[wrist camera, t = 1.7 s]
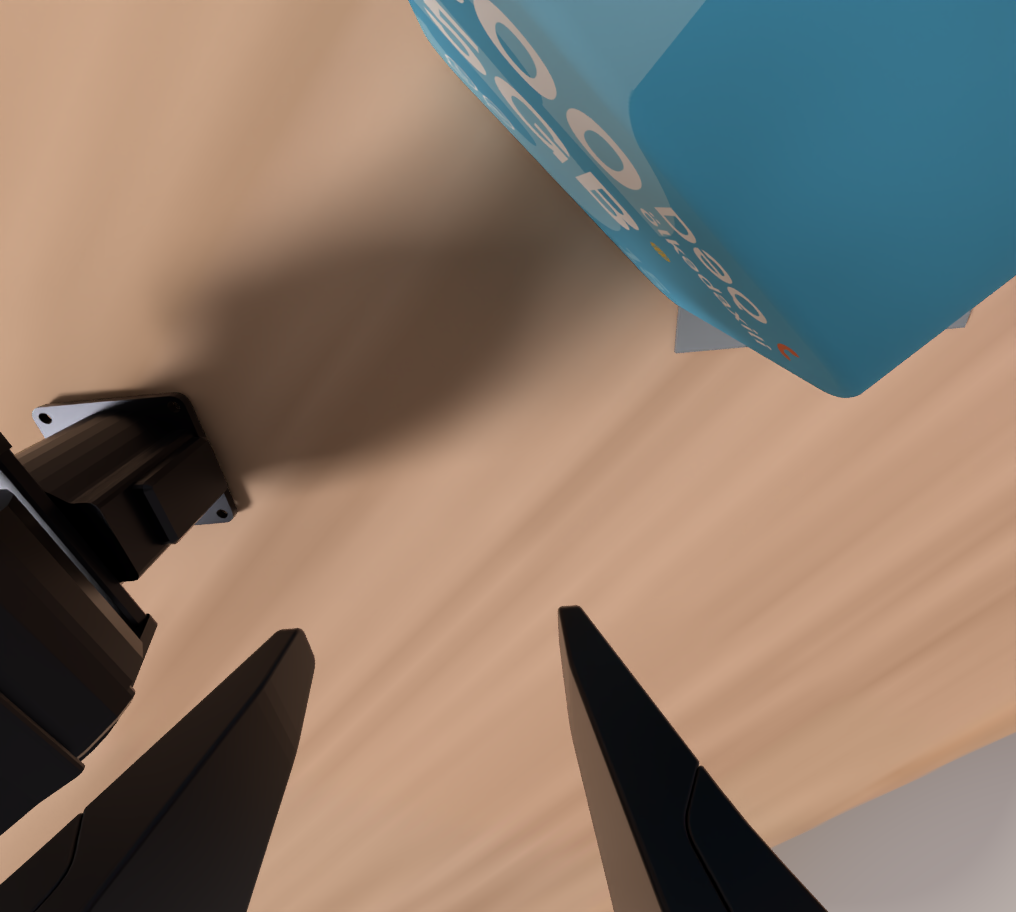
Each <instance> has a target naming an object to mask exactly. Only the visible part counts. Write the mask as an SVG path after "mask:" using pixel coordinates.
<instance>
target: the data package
mask: <svg viewBox="0 0 1016 912" xmlns="http://www.w3.org/2000/svg"><path fill="white" fill-rule="evenodd" d="M408 1H409V3H410V5H411V7H412V9H413V11H414V13H415V15H416V17H417V20H418V22H419V24H420V26H421V28H422V30H423V32H424V34H425V36H426V37H427V39H428V40H429V42H430V43H431V45H432V46H433V47H434V49H435V50H436V51H437V52H438V54H439V55H440V56H441V57H442V59H443V60H444V61H445V62H446V63H447V64H448V66H449V67H450V68H451V69H452V70H453V71H454V73H455V74H456V75H457V76H458V77H459V78H460V79H461V80H462V81H463V83H464V84H465V85H466V86H467V87H468V88H469V89H470V90H471V91H472V92H473V93H474V94H475V95H476V96H477V97H478V98H479V100H480V101H481V102H482V103H483V104H484V105H485V106H486V107H487V108H488V109H489V110H490V111H491V112H492V113H493V114H494V116H495V117H496V118H497V119H498V120H499V121H500V122H501V123H502V124H503V125H504V126H505V127H506V128H507V129H508V130H509V131H510V133H511V134H512V135H513V136H514V137H515V138H516V139H517V140H518V141H519V142H520V143H521V144H522V145H523V146H524V147H525V148H526V150H527V151H528V152H529V153H530V154H531V155H532V156H533V157H534V158H535V159H536V160H537V161H538V162H539V163H540V164H541V165H542V167H543V168H544V169H545V170H546V171H547V172H548V173H549V174H550V175H551V176H552V177H553V178H554V179H555V180H556V181H557V182H558V184H559V185H560V186H561V187H562V188H563V189H564V190H565V191H566V192H567V193H568V194H569V195H570V196H571V197H572V198H573V199H574V201H575V202H576V203H577V204H578V205H579V206H580V207H581V208H582V209H583V210H584V211H585V212H586V213H587V214H588V215H589V216H590V218H591V219H592V220H593V221H594V222H595V223H596V224H597V225H598V226H599V227H600V228H601V229H602V230H603V231H604V232H605V233H606V235H607V236H608V237H609V238H610V239H611V240H612V241H613V242H614V243H615V244H616V245H617V246H618V247H619V248H620V249H621V250H622V252H623V253H624V254H625V255H626V256H627V257H628V258H629V259H630V260H631V261H632V262H633V263H634V264H635V265H636V266H637V268H638V269H639V270H640V271H641V272H642V273H643V274H644V275H645V276H646V277H647V278H648V279H649V280H650V281H651V282H652V283H653V284H654V285H655V286H656V287H657V288H658V289H659V290H660V291H661V292H662V293H663V294H665V295H666V296H667V297H668V298H669V299H670V300H672V301H673V302H674V303H675V304H677V305H678V306H680V307H681V308H683V309H685V310H687V311H688V312H690V313H692V314H693V315H695V316H697V317H698V318H700V319H702V320H703V321H705V322H707V323H709V324H710V325H712V326H714V327H715V328H717V329H719V330H720V331H722V332H724V333H726V334H727V335H729V336H731V337H732V338H734V339H736V340H737V341H739V342H741V343H742V344H744V345H746V346H748V347H749V348H751V349H753V350H754V351H756V352H758V353H759V354H761V355H763V356H764V357H766V358H768V359H770V360H771V361H773V362H775V363H776V364H778V365H780V366H781V367H783V368H785V369H787V370H788V371H790V372H792V373H793V374H795V375H797V376H798V377H800V378H802V379H803V380H805V381H807V382H809V383H810V384H812V385H814V386H815V387H817V388H819V389H821V390H822V391H824V392H826V393H828V394H831V395H833V396H836V397H841V398H850V397H855V396H858V395H860V394H861V393H863V392H864V391H865V390H867V389H868V388H869V387H871V386H872V385H873V384H875V383H876V382H877V381H879V380H880V379H881V378H882V377H884V376H885V375H886V374H888V373H889V372H890V371H892V370H893V369H894V368H895V367H897V366H898V365H899V364H901V363H902V362H903V361H905V360H906V359H907V358H909V357H910V356H911V355H912V354H914V353H915V352H916V351H918V350H919V349H920V348H922V347H923V346H924V345H925V344H927V343H928V342H929V341H931V340H932V339H933V338H935V337H936V336H937V335H939V334H940V333H941V332H942V331H944V330H945V329H946V328H948V327H949V326H950V325H952V324H953V323H954V322H955V321H957V320H958V319H959V318H961V317H962V316H963V315H965V314H966V313H967V312H969V311H970V310H971V309H972V308H974V307H975V306H976V305H978V304H979V303H980V302H982V301H983V300H984V299H985V298H987V297H988V296H989V295H991V294H992V293H993V292H995V291H996V290H997V289H999V288H1000V287H1001V286H1002V285H1004V284H1005V283H1006V282H1008V281H1009V280H1010V279H1012V278H1013V277H1014V276H1015V275H1016V0H408Z"/></svg>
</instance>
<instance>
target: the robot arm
mask: <svg viewBox="0 0 1016 912" xmlns="http://www.w3.org/2000/svg"><path fill="white" fill-rule="evenodd" d="M173 402H176V403H177V404H178V405H179V406H180V409H178V408H177V407H175V406H174V404H173ZM47 415H49V416H50V417H51V419H50V418H49V417H48V416H47ZM32 417H33V419H34V421H35V423H36V424H37V426H38V427H39V429H40V431H41V432H42V434H43V436H44V437H45V439H43V440H42V441H40V442H38V443H36V444H34V445H32V446H30V447H28V448H26V449H24V450H22V451H21V452H19V453H17V454H15V455H14V454H13V453H12V452H11V450H10V448H11V447H12V446H11V444H10V443H9V442H8V441H7V439H6V438H5V437H4V436H3V435H2V433H1V432H0V835H2V834H3V833H4V832H5V831H6V830H8V829H9V828H10V827H11V826H12V825H14V824H15V823H16V822H17V821H18V820H19V819H21V818H22V817H23V816H24V815H25V814H27V813H28V812H29V811H30V810H31V809H33V808H34V807H35V806H36V805H37V804H39V803H40V802H41V801H43V800H44V799H46V798H47V797H49V796H50V795H52V794H53V793H54V792H56V791H57V790H59V789H60V788H62V787H63V786H65V785H66V784H67V783H69V782H70V781H72V780H73V779H75V778H76V777H77V776H79V775H80V774H81V773H82V771H83V770H84V768H85V765H84V764H83V763H82V762H81V761H82V760H83V759H84V758H85V757H86V756H87V755H89V754H90V753H91V752H92V751H93V750H94V749H95V748H96V747H97V746H98V745H99V744H100V743H101V741H102V740H103V739H104V738H105V737H106V736H107V735H108V734H109V732H110V731H111V729H112V728H113V727H114V725H115V724H116V723H117V721H118V719H119V718H120V716H121V715H122V714H123V712H124V711H125V710H126V708H127V707H128V706H129V705H130V703H131V701H132V699H133V697H134V695H135V690H134V689H133V685H134V683H135V680H136V678H137V675H138V673H139V670H140V668H141V665H142V663H143V660H144V658H145V655H146V653H147V650H148V648H149V645H150V643H151V640H152V638H153V635H154V633H155V630H156V628H157V623H156V621H155V620H154V619H153V618H152V616H151V615H150V614H145V613H144V612H143V610H142V609H141V608H140V607H139V606H138V604H137V603H136V602H135V601H134V599H133V598H132V597H131V596H130V595H129V593H128V592H127V591H126V590H125V589H124V587H123V586H122V584H123V583H124V582H126V581H135V580H138V579H139V578H140V577H141V576H142V574H143V573H144V572H145V571H146V570H147V569H148V568H149V567H150V566H151V565H152V564H153V563H154V562H155V561H156V560H157V559H158V558H159V557H160V555H161V554H162V553H163V552H164V551H165V550H166V549H167V548H168V547H169V546H170V545H171V544H176V543H178V542H179V541H180V540H181V538H182V537H183V536H184V535H185V534H186V533H187V532H188V531H189V530H190V529H191V528H192V527H193V526H194V525H202V524H213V523H225V522H230V521H231V520H232V519H233V518H234V517H235V515H236V514H237V508H236V506H235V503H234V501H233V499H232V496H231V494H230V492H229V489H228V485H227V482H226V480H225V478H224V476H223V473H222V471H221V469H220V466H219V464H218V462H217V459H216V457H215V455H214V452H213V450H212V448H211V446H210V443H209V441H208V440H207V439H206V436H205V434H204V432H203V430H202V427H201V425H200V423H199V420H198V418H197V416H196V413H195V411H194V409H193V406H192V404H191V402H190V401H189V399H188V398H187V397H186V396H185V395H183V394H180V393H164V394H152V395H141V396H130V397H119V398H108V399H97V400H86V401H75V402H64V403H52V404H45V405H42V406H40V407H38V408H36V409H34V410H33V411H32ZM222 510H224V511H226V512H227V513H224V512H223V511H222ZM558 629H559V645H560V653H561V661H562V669H563V677H564V685H565V693H566V701H567V709H568V716H569V723H570V729H571V734H572V739H573V744H574V748H575V752H576V756H577V760H578V764H579V768H580V773H581V777H582V781H583V785H584V789H585V793H586V797H587V802H588V806H589V810H590V814H591V818H592V822H593V826H594V830H595V835H596V839H597V843H598V847H599V851H600V855H601V859H602V863H603V868H604V872H605V876H606V880H607V884H608V888H609V892H610V897H611V901H612V905H613V909H614V912H828V911H827V910H826V909H825V908H824V907H823V906H822V905H821V903H820V902H818V900H817V899H816V898H815V897H814V896H813V895H812V894H811V893H810V892H809V890H808V889H807V888H806V887H805V886H804V885H803V884H802V883H801V882H800V881H799V880H798V878H797V877H796V876H795V875H794V874H793V873H792V872H791V871H790V870H789V869H788V868H787V867H786V865H785V864H784V863H783V862H782V861H781V860H780V859H779V858H778V857H777V855H776V854H775V853H774V852H773V851H772V850H771V849H770V847H769V846H768V845H767V844H766V843H765V842H764V841H763V839H762V838H761V837H760V836H759V835H758V834H757V833H756V832H755V830H754V829H753V828H752V827H751V826H750V825H749V824H748V822H747V821H746V820H745V819H744V817H743V816H742V815H741V814H740V812H739V811H738V810H737V809H736V808H735V806H734V805H733V804H732V803H731V801H730V800H729V799H728V798H727V796H726V795H725V794H724V793H723V791H722V790H721V789H720V788H719V786H718V785H717V784H716V782H715V781H714V780H713V778H712V777H711V776H710V775H709V773H708V772H707V771H706V769H705V768H704V767H703V766H699V761H698V759H697V758H696V757H695V755H694V754H693V753H692V751H691V750H690V749H689V748H688V746H687V745H686V744H685V742H684V741H683V740H682V738H681V737H680V736H679V735H678V733H677V732H676V731H675V729H674V728H673V727H672V725H671V724H670V723H669V721H668V720H667V719H666V718H665V716H664V715H663V714H662V712H661V711H660V710H659V708H658V707H657V706H656V705H655V703H654V702H653V701H652V699H651V698H650V697H649V695H648V694H647V693H646V691H645V690H644V689H643V688H642V686H641V685H640V684H639V682H638V681H637V680H636V678H635V677H634V676H633V675H632V673H631V672H630V671H629V669H628V668H627V667H626V665H625V664H624V663H623V662H622V660H621V659H620V658H619V656H618V655H617V654H616V652H615V651H614V650H613V648H612V647H611V646H610V645H609V643H608V642H607V641H606V639H605V638H604V637H603V635H602V634H601V633H600V632H599V630H598V629H597V628H596V626H595V625H594V624H593V622H592V621H591V620H590V618H589V617H588V616H587V615H586V613H585V612H584V611H583V609H582V608H581V607H580V606H578V605H574V606H562V607H560V608H559V609H558ZM314 669H315V658H314V655H313V652H312V650H311V647H310V645H309V642H308V640H307V638H306V635H305V633H304V631H303V630H302V629H300V628H294V629H282V630H279V631H277V632H276V633H275V634H274V635H273V636H271V637H270V638H269V639H268V640H267V641H266V642H265V643H264V644H263V645H262V646H261V647H260V648H258V649H257V650H256V651H255V652H254V653H253V654H252V655H251V656H250V657H249V658H248V659H247V660H245V661H244V662H243V663H242V664H241V665H240V666H239V667H238V668H237V669H236V670H235V671H233V672H232V673H231V674H230V675H229V676H228V677H227V678H226V679H225V680H224V681H223V682H222V683H220V684H219V685H218V686H217V687H216V688H215V689H214V690H213V691H212V692H211V693H210V694H209V695H207V696H206V697H205V698H204V699H203V700H202V701H201V702H200V703H199V704H198V705H197V706H196V707H194V708H193V709H192V710H191V711H190V712H189V713H188V714H187V715H186V716H185V717H184V718H182V719H181V720H180V721H179V722H178V723H177V724H176V725H175V726H174V727H173V728H172V729H171V730H169V731H168V732H167V733H166V734H165V735H164V736H163V737H162V738H161V739H160V740H159V741H158V742H156V743H155V744H154V745H153V746H152V747H151V748H150V749H149V750H148V751H147V752H146V753H145V754H143V755H142V756H141V757H140V758H139V759H138V760H137V761H136V762H135V763H134V764H133V765H131V766H130V767H129V768H128V769H127V770H126V771H125V772H124V773H123V774H122V775H121V776H120V777H118V778H117V779H116V780H115V781H114V782H113V783H112V784H111V785H110V786H109V787H108V788H107V789H105V790H104V791H103V792H102V793H101V794H100V795H99V796H98V797H97V798H96V799H95V800H93V801H92V802H91V803H90V804H89V805H88V806H87V807H86V808H85V809H84V812H83V813H80V814H78V815H77V816H76V817H75V818H74V819H73V820H72V821H70V822H69V823H68V824H67V825H66V826H65V827H64V828H63V829H62V830H61V831H60V832H59V833H57V834H56V835H55V836H54V837H53V838H52V839H51V840H50V841H49V842H48V843H46V844H45V845H44V846H43V847H42V848H41V849H40V850H39V851H38V852H36V853H35V854H34V855H33V856H32V857H31V858H30V859H29V860H28V861H26V862H25V863H24V864H23V865H22V866H21V867H20V868H19V869H17V870H16V871H15V872H14V873H13V874H12V875H11V876H10V877H9V878H7V879H6V880H5V881H4V882H3V883H2V884H0V912H247V909H248V905H249V902H250V899H251V896H252V893H253V890H254V887H255V883H256V880H257V877H258V874H259V871H260V868H261V864H262V861H263V858H264V855H265V852H266V849H267V845H268V842H269V839H270V836H271V833H272V830H273V827H274V823H275V820H276V817H277V814H278V811H279V808H280V804H281V801H282V798H283V795H284V792H285V789H286V785H287V782H288V779H289V776H290V773H291V770H292V767H293V763H294V760H295V756H296V753H297V749H298V745H299V740H300V736H301V731H302V726H303V722H304V717H305V712H306V707H307V703H308V698H309V693H310V688H311V683H312V679H313V674H314Z"/></svg>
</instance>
